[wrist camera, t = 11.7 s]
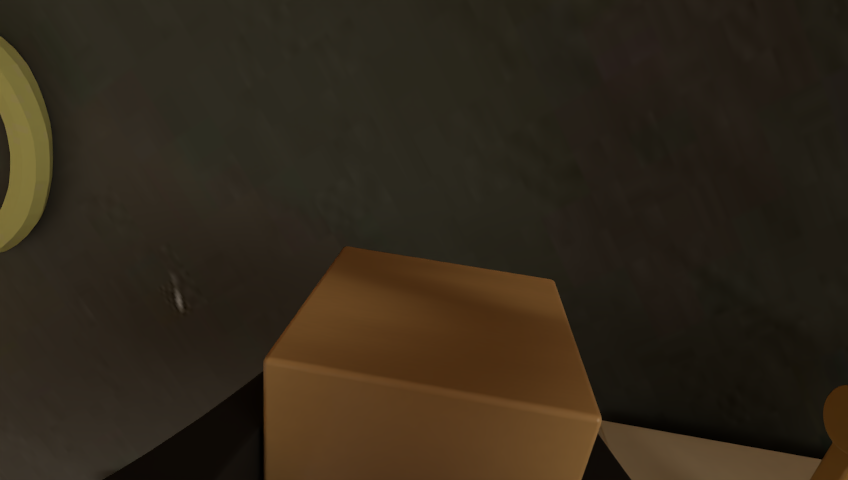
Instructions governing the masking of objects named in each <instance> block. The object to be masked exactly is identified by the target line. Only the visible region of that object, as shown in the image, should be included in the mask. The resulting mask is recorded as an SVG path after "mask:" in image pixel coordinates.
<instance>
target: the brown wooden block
mask: <svg viewBox="0 0 848 480" xmlns="http://www.w3.org/2000/svg"><path fill="white" fill-rule="evenodd" d="M263 376H264V480H582V477H583V474H584V471H585V468H586V465H587V463H588V460H589V457H590V454H591V451H592V448H593V445H594V442H595V440H596V437H597V434H598V431H599V428H600V425H601V422H602V418H601V414H600V411H599V408H598V405H597V402H596V400H595V397H594V394H593V391H592V388H591V385H590V382H589V379H588V377H587V374H586V371H585V368H584V365H583V362H582V359H581V357H580V354H579V351H578V348H577V345H576V342H575V339H574V336H573V334H572V331H571V328H570V325H569V322H568V319H567V316H566V313H565V311H564V308H563V305H562V302H561V299H560V296H559V293H558V290H557V288H556V285H555V282H554V281H553V280H551V279H545V278H539V277H533V276H527V275H520V274H514V273H508V272H502V271H496V270H490V269H483V268H477V267H471V266H465V265H459V264H453V263H446V262H440V261H434V260H428V259H422V258H416V257H410V256H403V255H397V254H391V253H385V252H379V251H373V250H366V249H360V248H354V247H348V246H347V247H344V248H343V249H342V250H341V252H340V253H339V255H338V256H337V257H336V259H335V260H334V262H333V263H332V264H331V266H330V267H329V269H328V270H327V271H326V273H325V274H324V276H323V277H322V278H321V280H320V281H319V283H318V284H317V285H316V287H315V288H314V290H313V291H312V292H311V294H310V295H309V297H308V298H307V299H306V301H305V302H304V304H303V305H302V306H301V308H300V309H299V311H298V312H297V313H296V315H295V316H294V318H293V319H292V320H291V322H290V323H289V325H288V326H287V327H286V329H285V330H284V332H283V333H282V334H281V336H280V337H279V339H278V340H277V341H276V343H275V344H274V346H273V347H272V348H271V350H270V351H269V353H268V354H267V355H266V357H265V359H264V363H263Z"/></svg>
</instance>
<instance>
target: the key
mask: <svg viewBox="0 0 848 480" xmlns="http://www.w3.org/2000/svg"><path fill="white" fill-rule="evenodd" d="M0 114H1V117H2V119H3V122H4V124H5V128H6V132H7V136H8V142H9V149H10V178H9V187H8V191H7V194H6V197H5V200H4V203H3V205H2V207H1V210H0V252H4V251H7V250H9V249H11V248H12V247H14V246H16V245H17V244H19V243H20V242H21V241H22V240H23V239H24V238H25V237H26V236H27V235H28V234H29V233H30V232H31V230H32V229H33V228H34V226H35V225H36V224H37V222H38V221H39V219H40V218H41V216H42V214H43V212H44V209H45V207H46V203H47V200H48V196H49V192H50V186H51V181H52V172H53V143H52V132H51V125H50V120H49V116H48V113H47V109H46V105H45V102H44V99H43V97H42V94H41V92H40V89H39V87H38V84H37V82H36V80H35V78H34V76H33V74H32V72H31V70H30V68H29V66H28V65H27V63H26V62H25V61H24V60H23V58H22V57H21V56H20V55H19V53H18V52H17V51H16V50H15V49H14V48H13V47H12V46H11V45H10V44H9V43H8V42H7V41H5V40H4V39H3V38H2V37H1V36H0Z"/></svg>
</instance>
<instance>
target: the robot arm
mask: <svg viewBox="0 0 848 480" xmlns="http://www.w3.org/2000/svg"><path fill="white" fill-rule="evenodd" d="M103 480H264V376H263V372H261V373H260V374H259V375H258V376H256V377H255V378H254V379H252V380H251V381H250V382H248V383H247V384H246V385H244V386H243V387H242V388H240V389H239V390H238V391H236V392H235V393H234V394H232V395H231V396H230V397H228V398H227V399H226V400H224V401H223V402H221V403H220V404H219V405H217V406H216V407H214V408H213V409H212V410H210V411H209V412H208V413H206V414H205V415H203V416H202V417H201V418H199V419H198V420H196V421H195V422H193V423H192V424H190V425H189V426H187V427H186V428H184V429H183V430H181V431H180V432H178V433H177V434H175V435H174V436H172V437H171V438H169V439H168V440H166V441H165V442H163V443H162V444H160V445H159V446H157V447H156V448H154V449H153V450H151V451H150V452H148V453H146V454H145V455H143V456H142V457H140V458H138V459H137V460H135V461H134V462H132V463H130V464H129V465H127V466H125V467H124V468H122V469H120V470H119V471H117V472H115V473H114V474H112V475H110V476H108V477H107V478H105V479H103ZM582 480H631V478H630V477H629V476H628V474H627V473H626V472H625V470H624V469H623V468H622V466H621V465H620V463H619V462H618V461H617V459H616V458H615V457H614V455H613V454H612V452H611V451H610V450H609V448H608V447H607V445H606V444H605V442H604V441H603V440H602V438H601V437H600V435H599V434H597V437H596V440H595V442H594V445H593V448H592V451H591V454H590V457H589V460H588V463H587V465H586V468H585V471H584V474H583V477H582Z"/></svg>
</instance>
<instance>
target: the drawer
mask: <svg viewBox="0 0 848 480" xmlns="http://www.w3.org/2000/svg"><path fill="white" fill-rule="evenodd" d="M823 419H824V425H825V428H826V431H827V433H828V435H829V437H830V439H831V440H832V444H831V446H830V447H829V449H828V451H827V452H826V454H825V456H824V457H823V459H822V460H821V459H816V458H810V457H805V456H799V455H793V454H788V453H782V452H776V451H771V450H765V449H760V448H754V447H748V446H743V445H737V444H732V443H726V442H720V441H715V440H709V439H704V438H698V437H692V436H687V435H681V434H676V433H670V432H664V431H659V430H653V429H648V428H642V427H636V426H631V425H625V424H620V423H614V422H608V421H603V420H602V422H601V425H600V428H599V431H598V434H599V435H600V437H601V438H602V440H603V441H604V442H605V444H606V445H607V447H608V448H609V450H610V451H611V452H612V454H613V455H614V457H615V458H616V459H617V461H618V462H619V463H620V465H621V466H622V468H623V469H624V470H625V472H626V473H627V474H628V476H629V477H630V478H631V480H848V385H842V386H839V387H837V388H835V389H834V390H833V391H832V392H831V393H830V394H829V395H828V397H827V399H826V401H825V404H824V409H823Z"/></svg>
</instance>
